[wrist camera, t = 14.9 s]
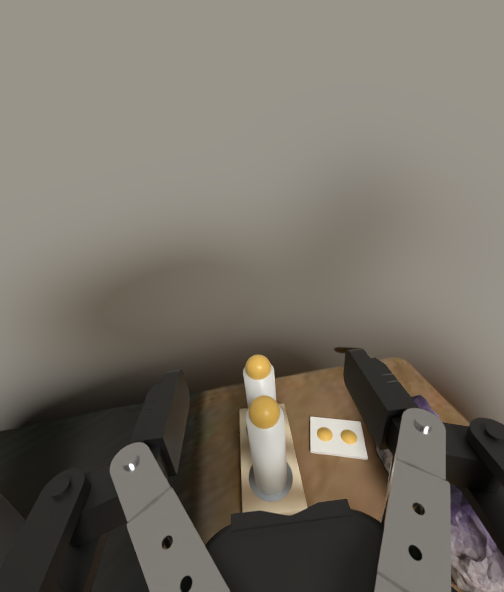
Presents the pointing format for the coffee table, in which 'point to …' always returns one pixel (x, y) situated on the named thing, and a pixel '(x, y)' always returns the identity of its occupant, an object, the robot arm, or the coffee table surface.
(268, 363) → the rack tube
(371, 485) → the coffee table surface
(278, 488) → the tube amber
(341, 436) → the card
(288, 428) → the rack
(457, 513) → the geode
